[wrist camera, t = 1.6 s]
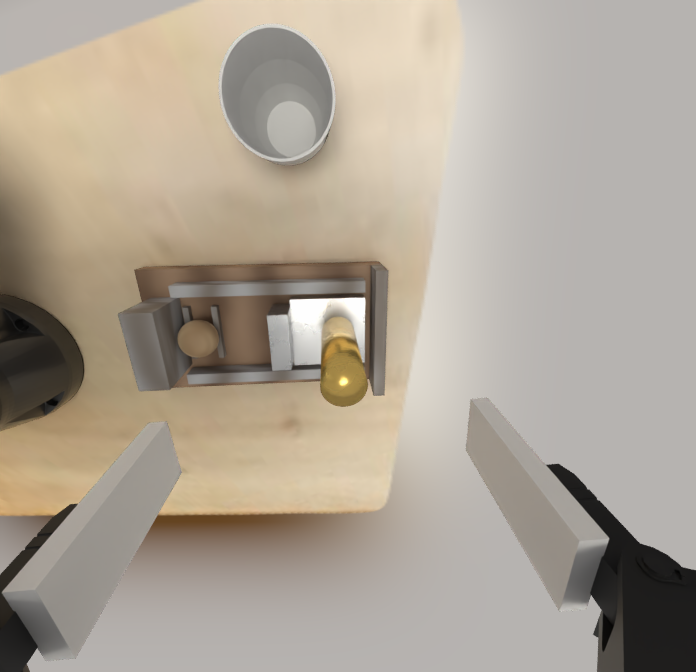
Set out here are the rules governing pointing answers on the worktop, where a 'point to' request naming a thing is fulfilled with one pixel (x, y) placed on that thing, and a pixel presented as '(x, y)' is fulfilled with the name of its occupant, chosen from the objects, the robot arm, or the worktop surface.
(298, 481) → the worktop surface
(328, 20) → the worktop surface
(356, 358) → the lever
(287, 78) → the cup
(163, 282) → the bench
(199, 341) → the nut
